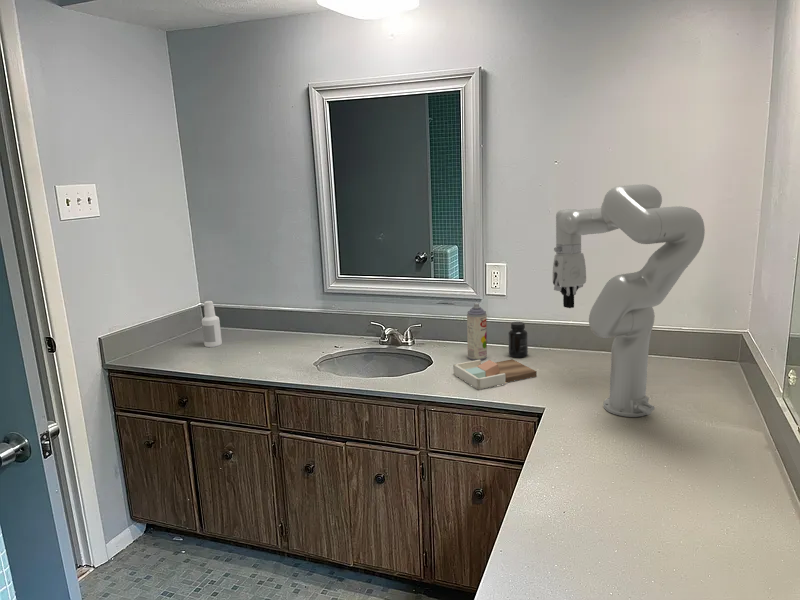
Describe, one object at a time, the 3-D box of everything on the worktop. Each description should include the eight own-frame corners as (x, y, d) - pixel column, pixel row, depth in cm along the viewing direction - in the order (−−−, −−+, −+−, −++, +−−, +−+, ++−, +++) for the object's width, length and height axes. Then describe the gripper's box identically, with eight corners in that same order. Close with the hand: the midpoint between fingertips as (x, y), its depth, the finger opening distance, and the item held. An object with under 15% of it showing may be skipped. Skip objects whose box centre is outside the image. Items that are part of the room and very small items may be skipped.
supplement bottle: (526, 352, 224) (527, 320, 221) (528, 358, 218) (529, 325, 215) (507, 352, 225) (507, 320, 222) (509, 358, 218) (509, 326, 216)
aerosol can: (483, 361, 216) (483, 306, 212) (465, 359, 219) (464, 305, 214) (489, 355, 222) (488, 302, 218) (470, 353, 225) (470, 300, 220)
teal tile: (485, 380, 197) (485, 371, 197) (472, 383, 195) (472, 374, 195) (477, 375, 202) (477, 366, 201) (464, 378, 200) (464, 369, 199)
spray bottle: (204, 343, 251) (199, 300, 247) (221, 341, 253) (217, 299, 249) (204, 348, 245) (199, 304, 241) (222, 346, 247) (217, 302, 243)
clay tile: (499, 372, 199) (497, 364, 198) (487, 378, 198) (485, 370, 197) (491, 367, 204) (489, 359, 203) (479, 374, 202) (476, 366, 201)
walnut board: (536, 376, 200) (536, 371, 199) (505, 383, 195) (505, 377, 195) (512, 364, 212) (512, 359, 212) (482, 370, 208) (482, 364, 207)
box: (505, 384, 194) (505, 374, 193) (478, 390, 190) (477, 379, 190) (479, 369, 209) (479, 359, 208) (453, 374, 205) (453, 364, 204)
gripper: (557, 252, 184) (557, 312, 188) (595, 248, 190) (595, 306, 194) (541, 251, 191) (542, 308, 194) (579, 246, 197) (579, 302, 201)
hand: (568, 307), depth 194 cm, fingers closed
